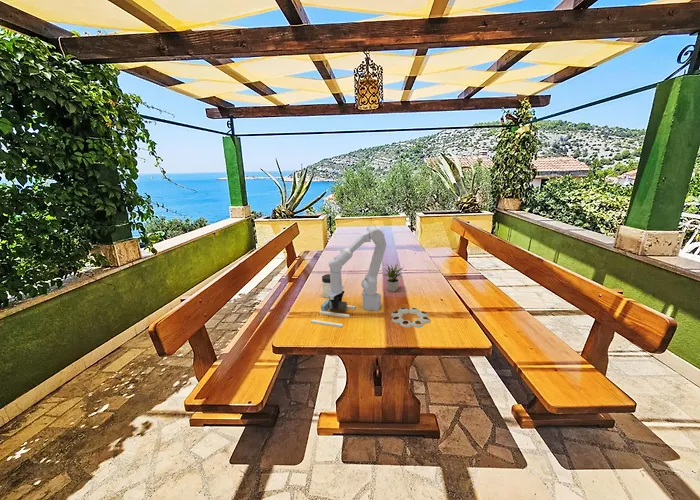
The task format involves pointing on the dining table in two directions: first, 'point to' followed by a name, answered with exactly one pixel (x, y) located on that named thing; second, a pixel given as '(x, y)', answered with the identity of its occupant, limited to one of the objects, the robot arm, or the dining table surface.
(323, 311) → the cream cylinder cradle
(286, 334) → the dining table surface
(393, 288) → the house plant
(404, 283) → the dining table surface
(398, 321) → the paint palette
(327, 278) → the jar
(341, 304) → the banded tin can
